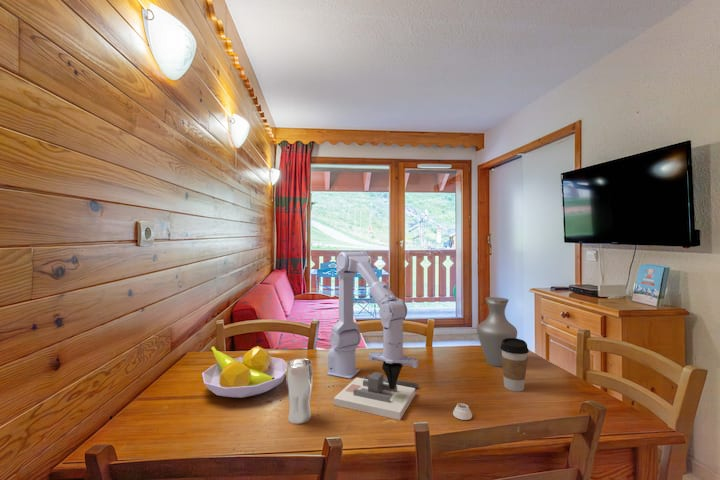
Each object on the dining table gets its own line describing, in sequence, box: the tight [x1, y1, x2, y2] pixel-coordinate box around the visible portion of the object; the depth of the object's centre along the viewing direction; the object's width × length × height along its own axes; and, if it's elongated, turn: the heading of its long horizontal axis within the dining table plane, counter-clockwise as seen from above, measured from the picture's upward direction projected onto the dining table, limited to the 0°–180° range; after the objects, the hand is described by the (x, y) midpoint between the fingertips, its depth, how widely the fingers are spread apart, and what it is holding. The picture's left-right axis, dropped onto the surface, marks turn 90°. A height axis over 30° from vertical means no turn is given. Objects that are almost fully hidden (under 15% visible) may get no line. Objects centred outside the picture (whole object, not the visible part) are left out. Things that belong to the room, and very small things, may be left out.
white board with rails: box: [333, 374, 419, 421], centre depth 105 cm, size 20×21×4 cm
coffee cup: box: [500, 338, 530, 392], centre depth 111 cm, size 8×8×15 cm
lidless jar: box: [452, 402, 473, 421], centre depth 94 cm, size 5×3×5 cm
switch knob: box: [368, 371, 384, 394], centre depth 103 cm, size 3×5×5 cm, turn 156°
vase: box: [476, 296, 518, 368], centre depth 132 cm, size 14×14×25 cm
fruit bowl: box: [201, 345, 288, 399], centre depth 111 cm, size 28×27×11 cm
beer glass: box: [285, 357, 314, 425], centre depth 92 cm, size 7×7×15 cm
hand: (392, 387), depth 100 cm, fingers closed
